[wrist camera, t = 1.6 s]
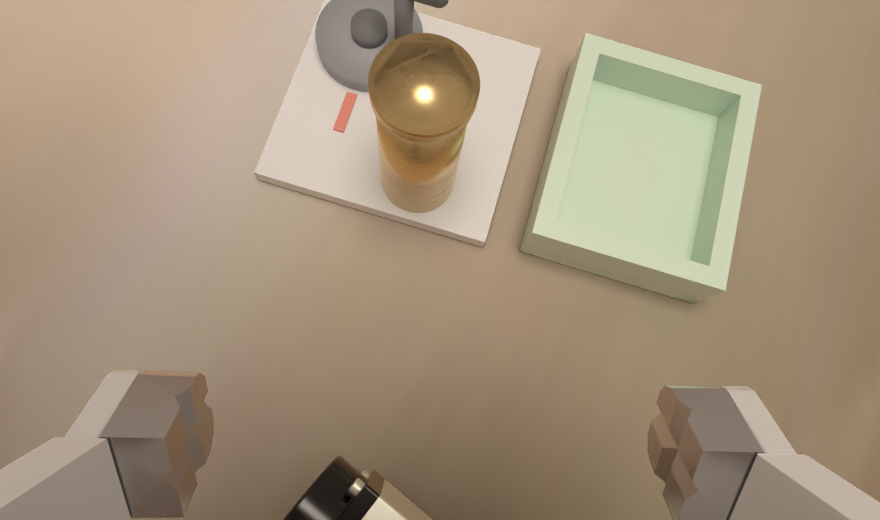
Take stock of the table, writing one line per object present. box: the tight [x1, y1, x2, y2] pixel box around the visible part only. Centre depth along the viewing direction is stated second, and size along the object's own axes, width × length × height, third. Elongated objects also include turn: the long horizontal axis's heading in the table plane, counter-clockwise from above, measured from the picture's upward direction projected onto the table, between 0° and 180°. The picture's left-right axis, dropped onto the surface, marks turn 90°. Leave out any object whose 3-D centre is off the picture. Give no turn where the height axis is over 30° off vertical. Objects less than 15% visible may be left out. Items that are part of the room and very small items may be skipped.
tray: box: [519, 33, 762, 304], centre depth 34 cm, size 10×12×4 cm
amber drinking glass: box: [368, 33, 480, 213], centre depth 29 cm, size 4×4×10 cm
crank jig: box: [254, 0, 541, 247], centre depth 32 cm, size 13×12×7 cm
